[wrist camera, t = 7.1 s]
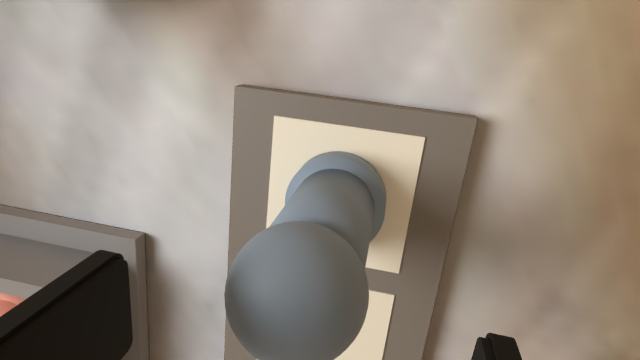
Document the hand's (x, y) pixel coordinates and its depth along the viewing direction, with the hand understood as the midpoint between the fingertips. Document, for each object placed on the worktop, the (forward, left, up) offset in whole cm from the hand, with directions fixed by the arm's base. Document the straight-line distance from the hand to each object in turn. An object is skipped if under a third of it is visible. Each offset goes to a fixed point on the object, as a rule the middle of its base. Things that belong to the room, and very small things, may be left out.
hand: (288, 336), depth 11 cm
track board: (-9, 0, -13) cm, 16 cm away
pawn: (0, 0, -12) cm, 12 cm away
